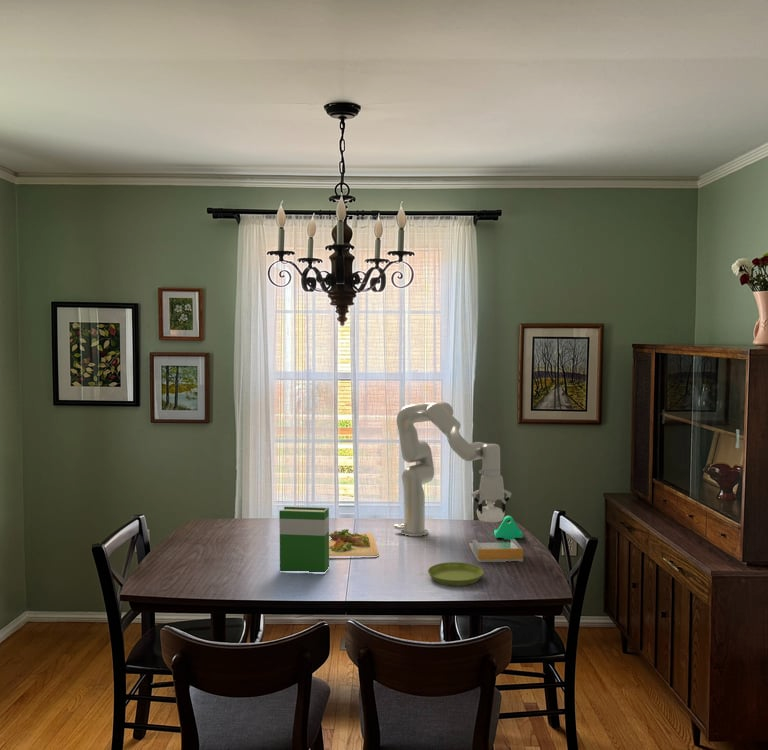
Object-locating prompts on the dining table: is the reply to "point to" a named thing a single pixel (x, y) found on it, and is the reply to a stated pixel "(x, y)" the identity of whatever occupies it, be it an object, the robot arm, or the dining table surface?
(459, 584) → the saucer
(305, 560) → the green cereal box
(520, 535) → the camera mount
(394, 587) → the dining table surface
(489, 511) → the bust
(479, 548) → the shallow tray
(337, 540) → the cutting board
